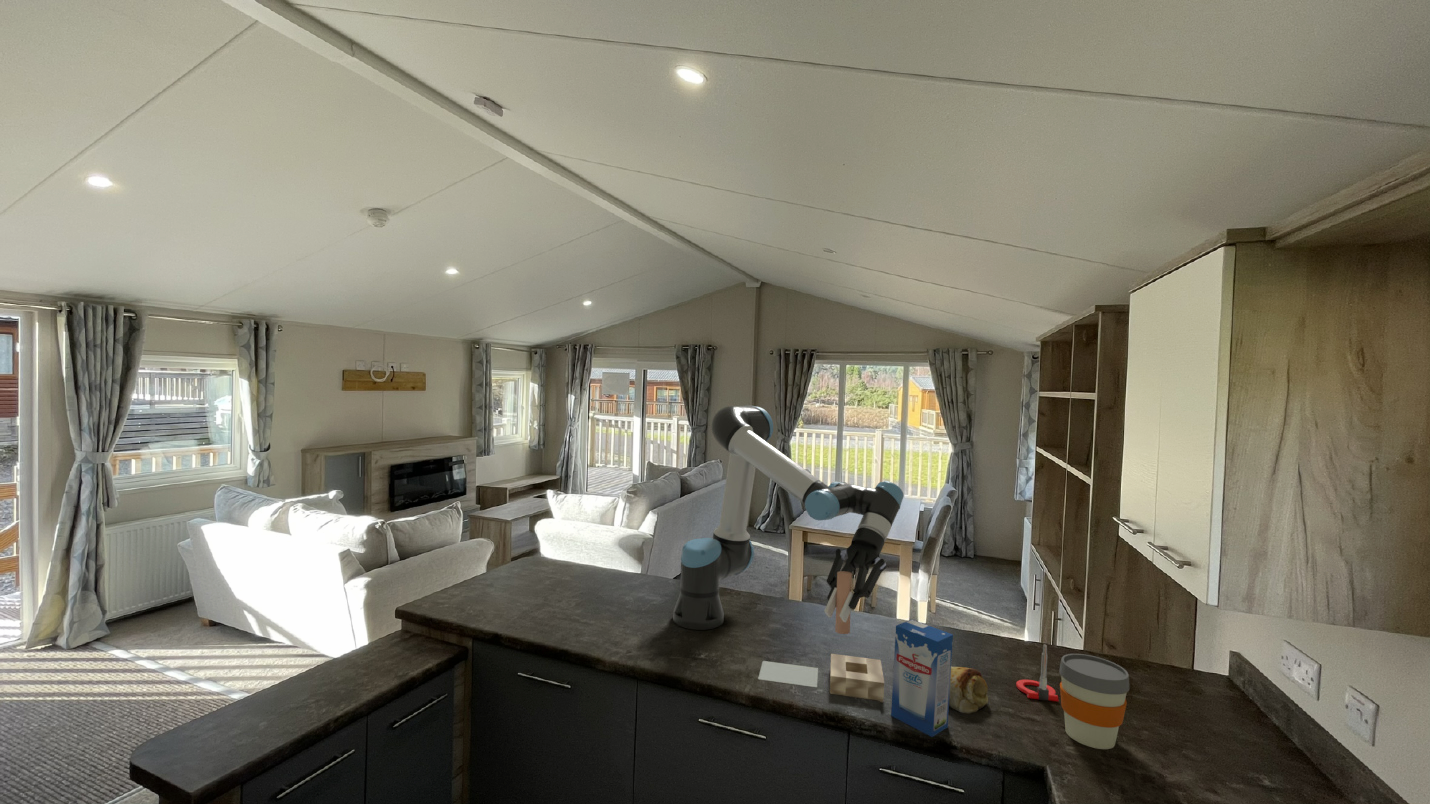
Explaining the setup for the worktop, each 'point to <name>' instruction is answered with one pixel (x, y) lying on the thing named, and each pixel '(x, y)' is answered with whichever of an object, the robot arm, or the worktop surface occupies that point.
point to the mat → (789, 674)
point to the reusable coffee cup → (1093, 699)
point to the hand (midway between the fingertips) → (835, 616)
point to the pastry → (967, 690)
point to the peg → (842, 600)
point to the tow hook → (1039, 683)
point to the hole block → (856, 677)
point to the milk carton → (922, 676)
